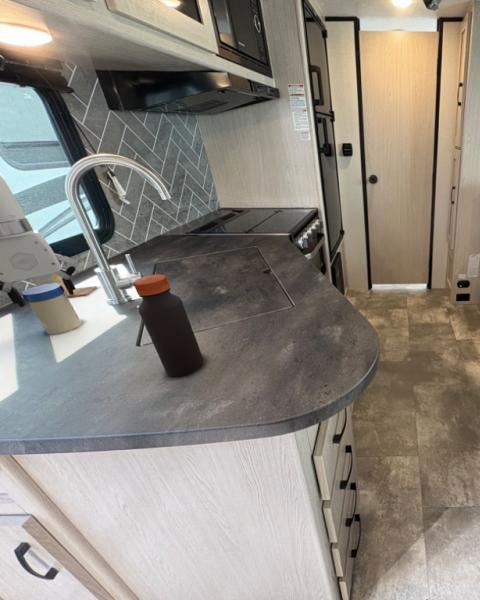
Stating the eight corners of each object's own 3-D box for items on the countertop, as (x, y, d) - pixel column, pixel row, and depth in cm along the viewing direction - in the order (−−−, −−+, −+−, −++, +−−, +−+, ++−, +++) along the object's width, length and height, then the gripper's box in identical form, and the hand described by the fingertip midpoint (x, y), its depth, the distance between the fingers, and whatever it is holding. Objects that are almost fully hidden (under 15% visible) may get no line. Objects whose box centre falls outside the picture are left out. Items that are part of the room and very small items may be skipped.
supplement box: (64, 295, 99) (42, 255, 93) (43, 299, 97) (19, 259, 91) (70, 286, 105) (50, 249, 99) (50, 290, 103) (28, 252, 97)
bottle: (205, 369, 65) (171, 281, 56) (166, 382, 62) (123, 290, 53) (203, 353, 70) (172, 269, 61) (167, 364, 67) (128, 277, 58)
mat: (63, 298, 97) (62, 296, 97) (75, 290, 103) (74, 288, 102) (86, 295, 99) (85, 293, 99) (97, 287, 104) (96, 286, 104)
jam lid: (17, 303, 73) (12, 296, 73) (38, 291, 79) (34, 285, 78) (53, 299, 75) (49, 292, 74) (71, 288, 81) (67, 281, 80)
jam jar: (39, 336, 78) (15, 298, 73) (57, 323, 83) (35, 287, 79) (71, 331, 79) (49, 294, 74) (87, 319, 85) (67, 283, 80)
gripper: (-61, 240, 62) (-7, 317, 70) (60, 224, 73) (95, 291, 81) (-54, 234, 67) (-4, 306, 74) (59, 219, 78) (92, 284, 85)
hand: (48, 298), depth 78 cm, fingers open, 8 cm apart
